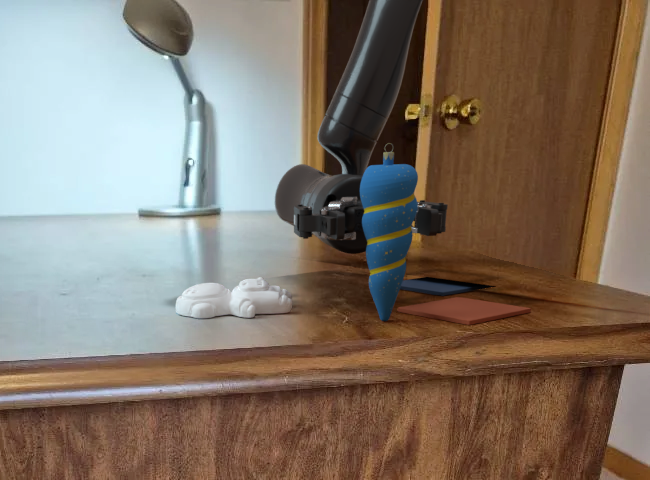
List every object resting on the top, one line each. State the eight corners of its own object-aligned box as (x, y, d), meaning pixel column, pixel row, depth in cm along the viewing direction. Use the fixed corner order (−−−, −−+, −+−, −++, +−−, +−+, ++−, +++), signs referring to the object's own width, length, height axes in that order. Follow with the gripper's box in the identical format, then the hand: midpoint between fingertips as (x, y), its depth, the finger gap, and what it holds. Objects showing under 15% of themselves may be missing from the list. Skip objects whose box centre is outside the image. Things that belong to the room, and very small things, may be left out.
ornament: (415, 326, 72) (428, 142, 65) (358, 327, 72) (366, 143, 65) (404, 315, 76) (415, 142, 70) (351, 316, 76) (357, 144, 70)
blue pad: (436, 278, 97) (436, 275, 97) (496, 286, 90) (496, 283, 90) (383, 286, 92) (383, 283, 92) (442, 296, 86) (443, 292, 85)
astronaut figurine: (290, 318, 76) (291, 286, 75) (169, 319, 78) (167, 287, 76) (294, 302, 84) (294, 272, 83) (184, 303, 85) (182, 274, 84)
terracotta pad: (458, 300, 83) (458, 296, 83) (530, 312, 76) (531, 308, 76) (397, 311, 78) (397, 307, 78) (469, 325, 72) (469, 320, 72)
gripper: (280, 176, 82) (310, 181, 68) (413, 172, 84) (469, 176, 69) (281, 252, 86) (309, 272, 71) (408, 247, 87) (461, 265, 73)
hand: (388, 225), depth 70 cm, fingers open, 8 cm apart
